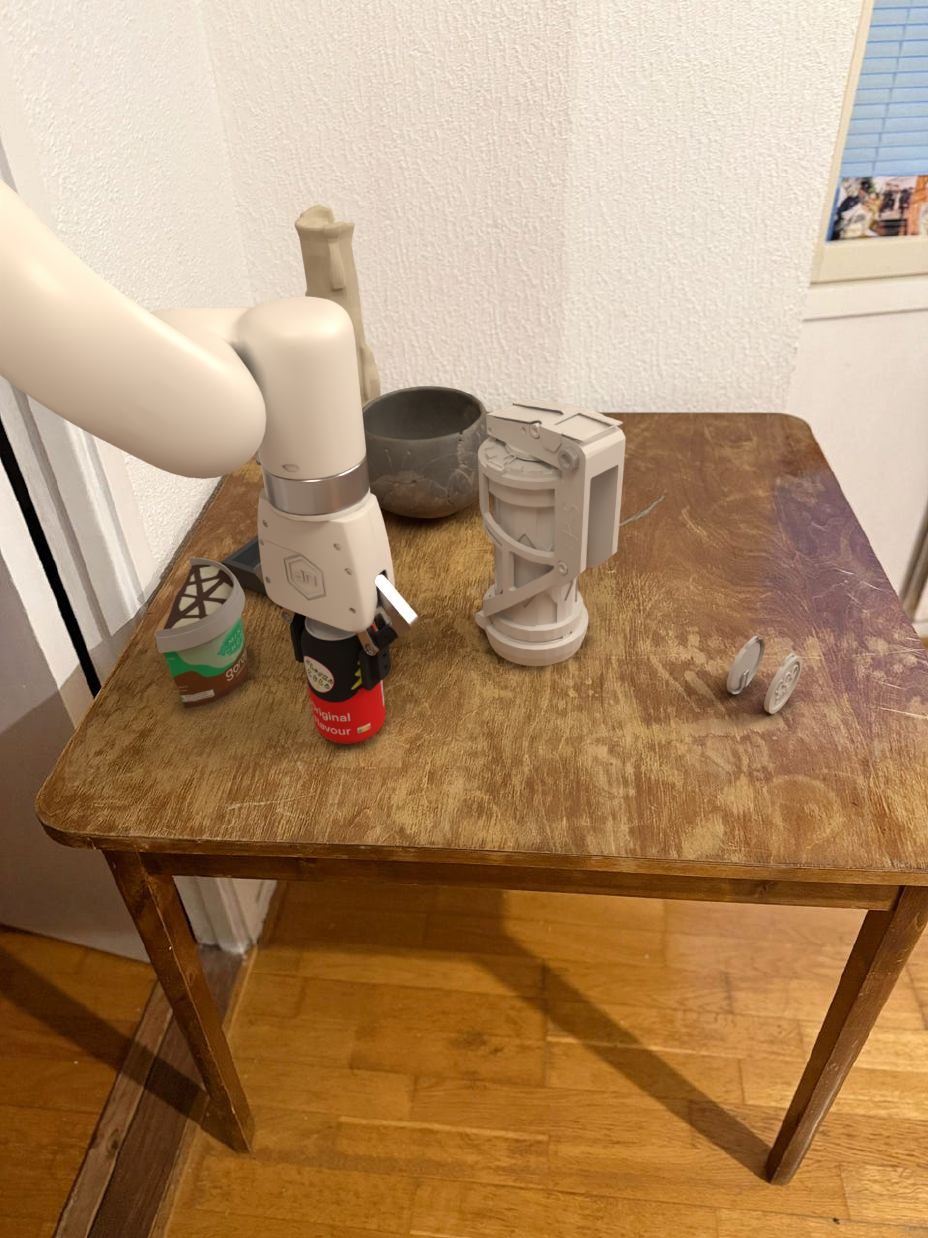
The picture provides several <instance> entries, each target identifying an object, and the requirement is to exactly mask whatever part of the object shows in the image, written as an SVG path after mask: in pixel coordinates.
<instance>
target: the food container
mask: <svg viewBox="0 0 928 1238" xmlns="http://www.w3.org/2000/svg"><path fill="white" fill-rule="evenodd" d="M188 559H189V565H190V569H189V571H188V575H187V577H186V579H185V581H184V583H183V585H182V586H181V587H180V589H179V590H178V592H177V594H176V596H175V598H174V600H173V603H172V606H171V610H170V612H169V615H168V618H167V620H166V622H165V624H164V625H163V629H154V634H155V643H156V646H157V652H158V654H160V653H161V654H163V657H164V660H165V662H166V664H167V667H168V669H169V673H170V674H171V677H172V679H173V682H174V685H175V686H176V687H175V688H176V689H177V692H178V694H179V697H180V699H181V702H182V705H183V708H192V707H199V706H205V705H208V704H211V703H215V702H217V701H219V700H221V699H223V698H225V697H227V696H229V695H230V694H231V693H233V692H235V690H236V689H238V688H239V687H240V686H241V685H242V684H243V682H244V681H245V679H246V678H247V676H248V672H249V660H248V653H247V647H246V641H245V632H244V628H243V620H242V613H243V611H244V609H245V605H246V595H245V592H244V590H243V587H242V586H240V584H239V582H238V580H237V579H236V577H235V576H234V575H233V574H232V573H231V571H230V570H229V569H228V568H227V567H226V566H224V565H222V564H221V562H218V561H216V560H213V559H209V558H204V557H188Z"/></svg>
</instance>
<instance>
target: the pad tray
mask: <svg viewBox="0 0 928 1238" xmlns="http://www.w3.org/2000/svg"><path fill="white" fill-rule="evenodd" d="M260 562H261V560H260V551H259V540H258V534H257V535H256V536H254V537H253V538H252V539H250V540H248V541H247V542H246V543H245V544H243V545H242V546H240V547H239V548H238V549H237V550H235V551H233V552H232V553H231V554H230V555H228V556H226V557H225V558H224V559H223V560H221V561H220V563H221V564H222V565H224V566H226V567H227V568H228V569H229V570H230V571H231V573H232V574H233V575H234V576H235V577H236V579H237V580H238V582H239V584H240V586H241V588H245V589H248V590H250V591H253V592H256V593H259V594H261V595H264V596H267V597H269V596H268V595H267V592H266V589H265V585H264V584H263V583H262V582H261V580H260V579H259V578H258V577H257V576H256V574H255V573H254V567H256V566H257V565H258V564H259V563H260Z"/></svg>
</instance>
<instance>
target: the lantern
mask: <svg viewBox="0 0 928 1238" xmlns="http://www.w3.org/2000/svg"><path fill="white" fill-rule="evenodd" d="M487 413H488V414H486V415H487V434H489V435H490V436H489V438H488V439H487V440H485V441H484V442H483V443H482V445H481V446H480V448H479V450H478V469H479V499H478V500H479V510H480V514H481V518H482V529H483V531H484V532H485V534H486V535H487V537H488V538H489V540H490V541H491V542H492V543H493V566H494V569H493V570H494V571H493V572H494V574H493V575H494V583H493V584H492V585H491V586H490V587H489V588H487V591H486V592H485V594H484V595H483V598H482V609H481V610H479V611H477V612H476V613H474V616H473V617H474V620H475V623H476V625H478V626H479V627H480V628H482V629H483V630H484V631H485V634H486V637H487V639H488V642H489V644H490V647H491V648H492V650H493V651H494V652H495V653H496V654H497V655H498V656H499V657H501V658H503V659H505V661H508V662H511V663H514V664H517V665H521V666H525V667H526V666H527V667H545V666H547V667H549V666H552V665H556V664H558V663H562V662H564V661H566V660H568V659H569V658H571V657H573V656H574V655H575V654H576V653H577V651H579V649H581V646H582V644H583V641H584V639H585V636H586V634H587V629H588V626H589V619H590V618H589V612H588V609H587V607H586V606H585V604H584V599H583V596H582V594H581V592H580V590H579V576H580V575H581V574H583V573H584V571H586V569H587V568H591V569H596V568H598V567H599V566H601V565H602V564H603V563H605V562H606V561H607V560H609V559H610V558H611V557H613V556H614V555H615V554H617V553H618V546H619V531H620V522H621V521H620V520H621V519H620V518H621V507H622V496H623V495H622V493H623V481H624V480H623V479H624V468H625V456H626V455H625V454H626V442H627V441H626V440H627V438H626V435H625V433H624V432H623V430H622V429H621V428H620V427H619V426H621V425H623V424H624V421H621V420H618V419H615V418H612V417H609V416H606V415H604V414H603V413H600V412H597V411H595V410H592V409H589V408H586V407H579V406H577V405H575V404H569V403H568V404H567V403H562V402H554V401H547V400H541V399H534V398H528V397H524V398H521V399H520V400H517V401H515V402H513V403H512V405H511V406H508V407H506V408H504V409H503V408H498V409H496V410H493V411H491V412H487ZM490 493H491V495H492V514H491V512H490Z"/></svg>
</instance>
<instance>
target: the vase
mask: <svg viewBox="0 0 928 1238" xmlns="http://www.w3.org/2000/svg"><path fill="white" fill-rule="evenodd" d="M335 219H336V218H335V215H334V212H333V209H332V207H327V206H325V205H322V204H321V205H320V204H315V205H313V206H310V207H309V208H306V210H304V211H301V213H300V215H299V217H298V218H297V219H296V220H295V221H294V228H295V231H296V233H297V235H298V240H299V244H300V251H301V257H302V263H303V269H304V276H305V284H306V291H305V292H304V296H307V297H317V298H323V299H327V300H330V301H333V302H335V303H337V304H338V305H340V306H341V307H342V308H343V309H344V310H345V311H346V312H347V313H348V315H349V317H350V319H351V321H352V324H353V329H354V336H355V345H356V355H357V365H358V375H359V385H360V395H361V405H362V409H363V408H364V407H365V406H366V405H367V404H368V403H369V402H371V401H372V400H374V399H375V398H377V397H380V396H382V395H381V392H382V391H381V377H380V373H379V370H378V367H377V363H376V360H375V359H376V358H375V355H374V352H373V350H372V348H371V347H370V346H369V345H368V343H367V342H366V335H365V329H364V324H363V317H362V307H361V298H360V297H361V296H360V288H359V286H360V285H359V280H358V279H359V278H358V273H357V268H356V263H355V257H354V250H353V245H352V243H353V235H354V230H355V226H356V225H355V222H353V221H351V222H350V221H349V222H348V223H347V222H345V221H344V220H343V221H336V220H335Z"/></svg>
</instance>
